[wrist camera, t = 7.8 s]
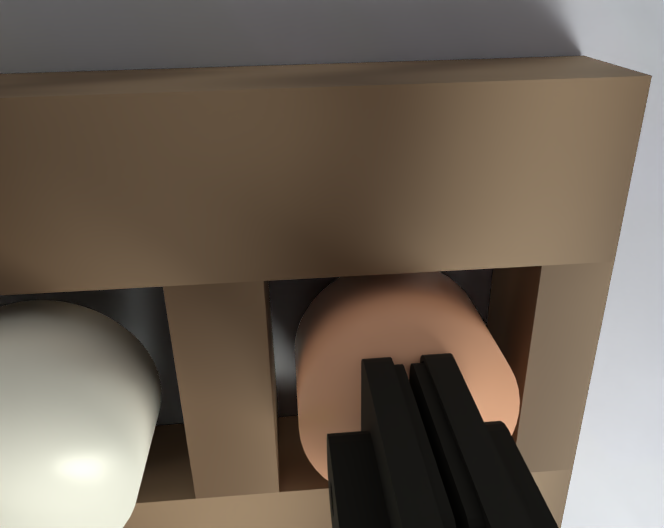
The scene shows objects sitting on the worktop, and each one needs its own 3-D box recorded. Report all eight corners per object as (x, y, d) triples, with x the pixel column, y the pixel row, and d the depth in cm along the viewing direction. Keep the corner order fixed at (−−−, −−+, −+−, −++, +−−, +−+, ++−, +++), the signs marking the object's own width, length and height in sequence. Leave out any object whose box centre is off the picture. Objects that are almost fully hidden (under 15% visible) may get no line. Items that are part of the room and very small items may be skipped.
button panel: (583, 56, 12) (651, 75, 10) (516, 494, 18) (551, 572, 15) (-623, 93, 11) (-855, 126, 9) (-304, 560, 16) (-398, 656, 14)
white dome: (145, 293, 12) (116, 370, 10) (173, 459, 14) (154, 556, 12) (-82, 306, 12) (-166, 388, 9) (-22, 473, 13) (-81, 575, 11)
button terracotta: (488, 257, 13) (532, 317, 11) (472, 414, 15) (507, 493, 13) (290, 267, 13) (293, 332, 11) (298, 426, 15) (303, 509, 12)
